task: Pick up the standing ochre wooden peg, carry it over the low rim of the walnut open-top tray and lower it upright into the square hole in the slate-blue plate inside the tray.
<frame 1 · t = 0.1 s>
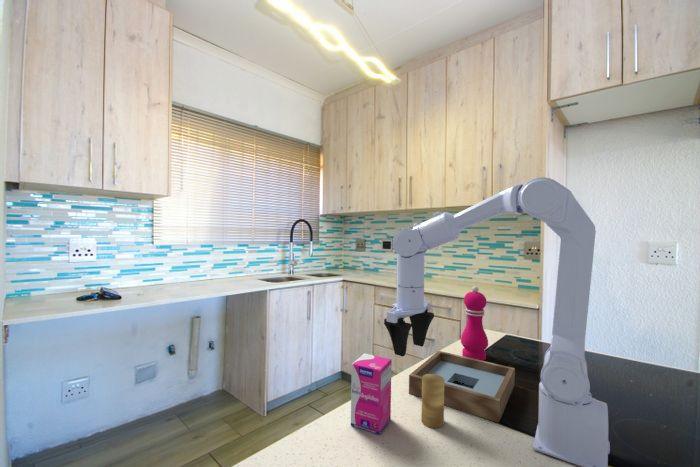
hand: (409, 349, 68), 10 cm above the countertop, tool pointing down, fingers open, 7 cm apart
supplement box: (371, 423, 59), on the countertop
pepper mill: (474, 357, 91), on the countertop
peg: (432, 421, 60), on the countertop
bore plate: (463, 384, 72), in the tray
tray: (463, 389, 72), on the countertop
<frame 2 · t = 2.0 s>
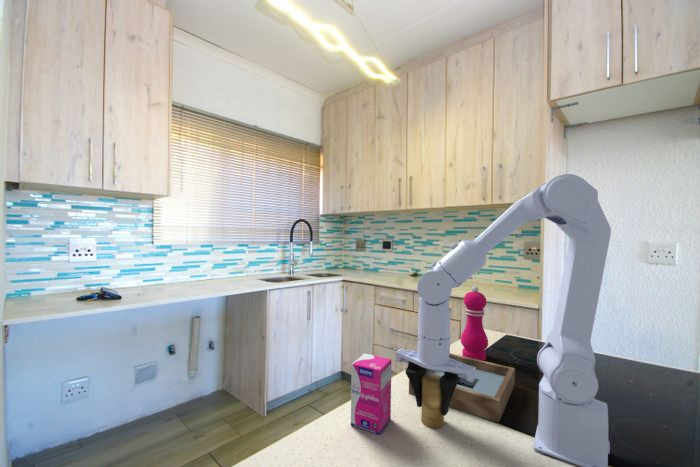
hand: (432, 408, 60), 2 cm above the countertop, tool pointing down, fingers closed on peg, 4 cm apart
peg: (432, 421, 60), on the countertop, touching gripper
everything else where it was.
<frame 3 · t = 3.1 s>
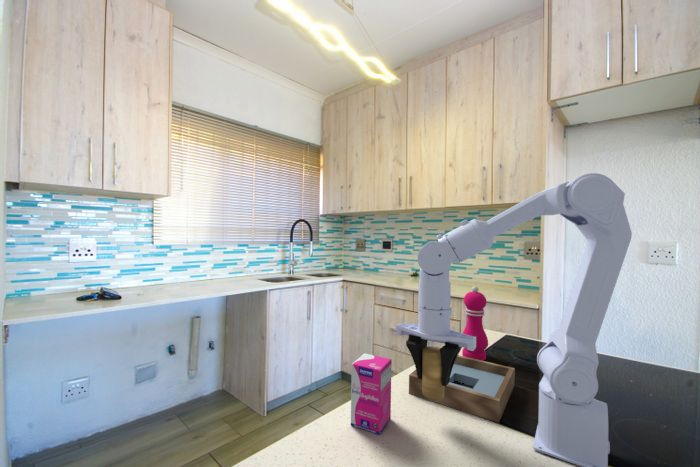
hand: (433, 380, 60), 8 cm above the countertop, tool pointing down, fingers closed on peg, 4 cm apart
peg: (433, 393, 60), point 5 cm above the countertop, touching gripper
everything else where it was.
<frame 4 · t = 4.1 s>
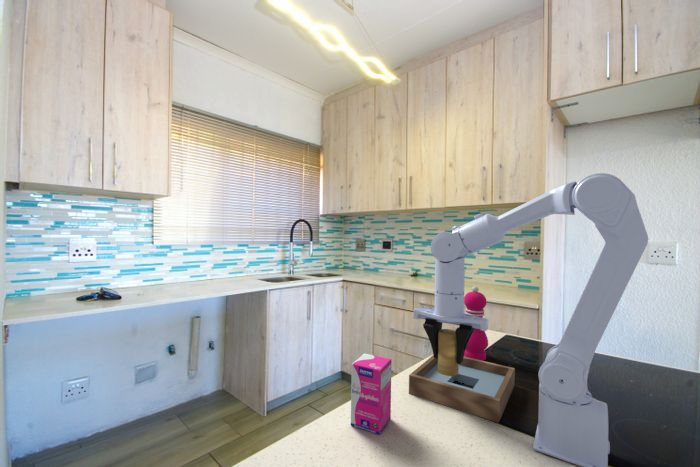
hand: (448, 359, 65), 9 cm above the countertop, tool pointing down, fingers closed on peg, 4 cm apart
peg: (448, 371, 65), point 7 cm above the countertop, touching gripper
everything else where it was.
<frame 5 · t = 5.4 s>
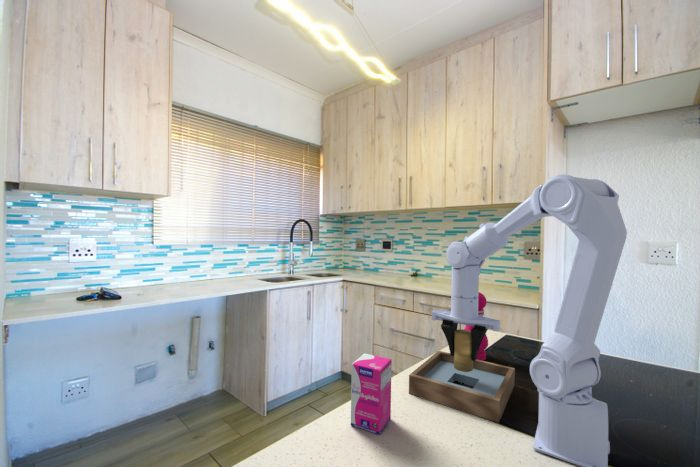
hand: (463, 356, 72), 7 cm above the countertop, tool pointing down, fingers closed on peg, 4 cm apart
peg: (463, 367, 72), point 5 cm above the countertop, touching gripper
everything else where it was.
when the fingers open (4 cm above the countertop, at t = 6.5 s): peg drops 1 cm, resting in bore plate.
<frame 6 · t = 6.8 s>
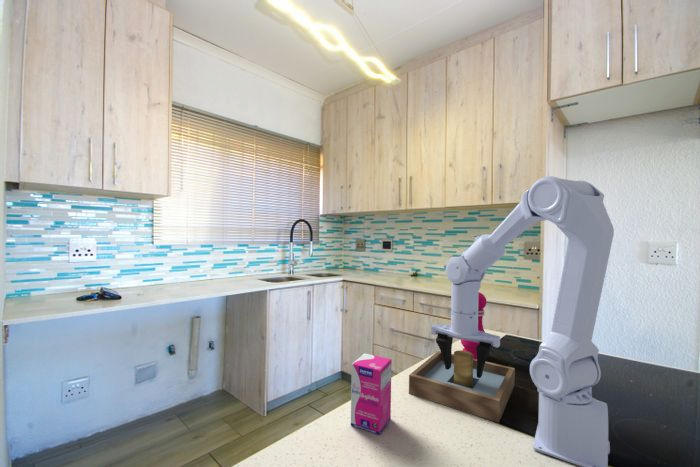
hand: (463, 371, 72), 4 cm above the countertop, tool pointing down, fingers open, 6 cm apart
peg: (463, 389, 72), resting in bore plate
everything else where it was.
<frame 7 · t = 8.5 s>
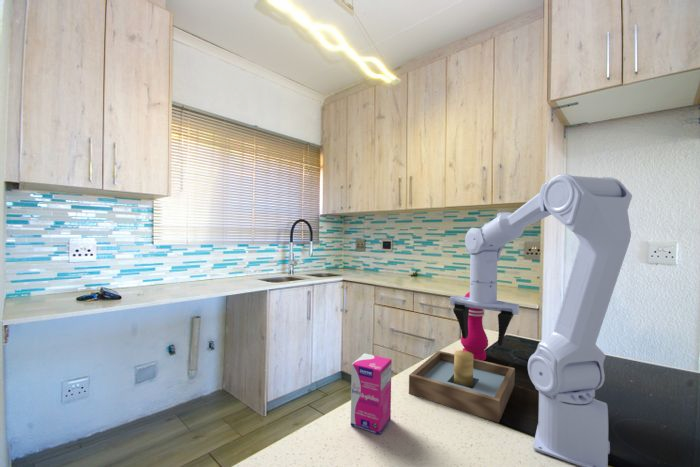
hand: (482, 340, 74), 10 cm above the countertop, tool pointing down, fingers open, 7 cm apart
nothing on the countertop moved.
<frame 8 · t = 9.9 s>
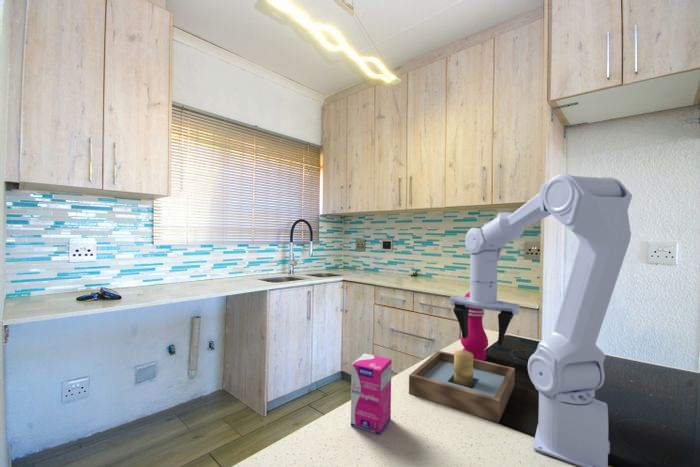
hand: (482, 340, 74), 10 cm above the countertop, tool pointing down, fingers open, 7 cm apart
nothing on the countertop moved.
at the end: peg 0.1 cm off-centre on the tray, point 0.0 cm above the tray's base; peg tilted 1°; the gripper is holding nothing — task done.
